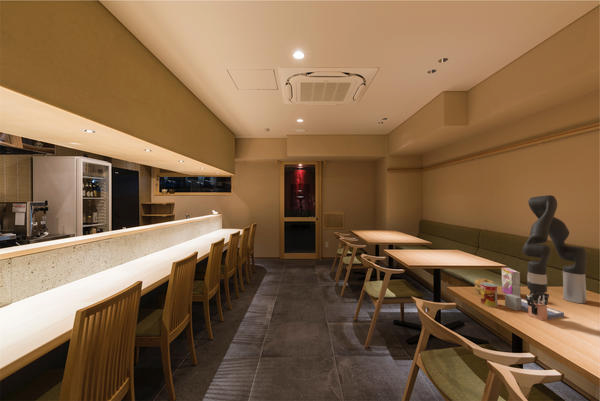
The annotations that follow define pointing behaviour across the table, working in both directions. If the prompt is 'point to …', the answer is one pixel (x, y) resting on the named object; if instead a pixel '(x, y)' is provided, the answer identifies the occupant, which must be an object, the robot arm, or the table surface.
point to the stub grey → (513, 302)
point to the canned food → (488, 294)
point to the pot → (478, 285)
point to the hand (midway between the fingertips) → (537, 313)
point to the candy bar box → (511, 282)
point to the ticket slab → (550, 312)
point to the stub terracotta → (539, 312)
